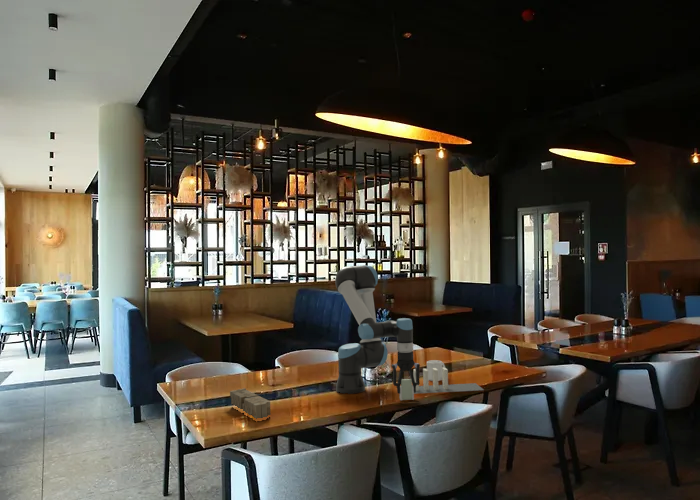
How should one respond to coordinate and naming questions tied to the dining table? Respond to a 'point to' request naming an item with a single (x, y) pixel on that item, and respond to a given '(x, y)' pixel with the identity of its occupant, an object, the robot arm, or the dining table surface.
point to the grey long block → (250, 403)
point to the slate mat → (451, 388)
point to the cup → (436, 365)
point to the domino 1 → (406, 389)
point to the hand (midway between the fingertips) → (406, 399)
